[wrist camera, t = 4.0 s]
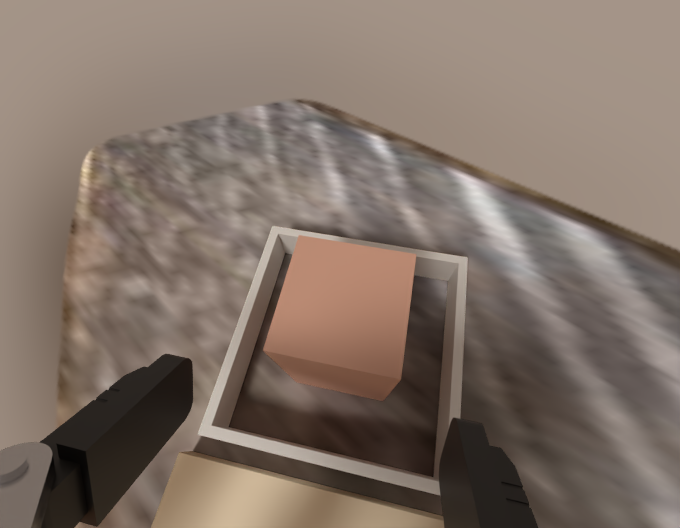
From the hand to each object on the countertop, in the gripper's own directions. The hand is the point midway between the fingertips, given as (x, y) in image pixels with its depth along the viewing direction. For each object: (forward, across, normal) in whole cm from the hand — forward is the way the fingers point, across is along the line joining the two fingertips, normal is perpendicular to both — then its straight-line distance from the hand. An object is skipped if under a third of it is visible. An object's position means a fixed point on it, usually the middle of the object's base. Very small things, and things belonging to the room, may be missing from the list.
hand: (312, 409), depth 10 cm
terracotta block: (+9, 0, +4) cm, 10 cm away
